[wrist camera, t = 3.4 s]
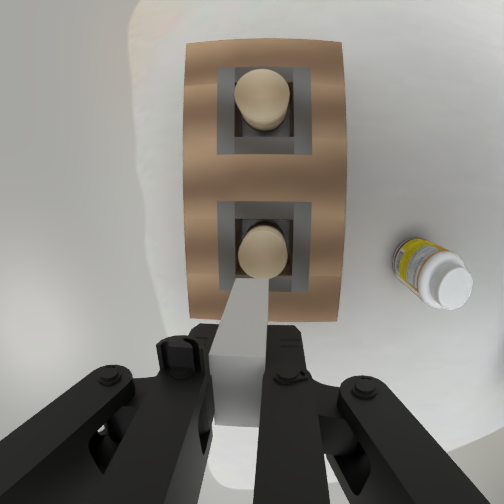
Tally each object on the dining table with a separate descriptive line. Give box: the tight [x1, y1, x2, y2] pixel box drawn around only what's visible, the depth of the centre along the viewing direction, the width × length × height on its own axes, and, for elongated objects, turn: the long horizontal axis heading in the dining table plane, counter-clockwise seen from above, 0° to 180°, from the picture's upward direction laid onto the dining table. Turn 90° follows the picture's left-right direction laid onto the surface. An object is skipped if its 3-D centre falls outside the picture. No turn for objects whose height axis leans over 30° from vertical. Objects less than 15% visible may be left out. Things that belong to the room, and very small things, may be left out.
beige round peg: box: [234, 69, 290, 132], centre depth 22 cm, size 4×4×6 cm
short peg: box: [238, 221, 287, 279], centre depth 27 cm, size 4×4×6 cm
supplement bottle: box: [393, 238, 473, 310], centre depth 27 cm, size 6×6×10 cm
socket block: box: [183, 38, 347, 322], centre depth 28 cm, size 26×14×6 cm, turn 0°
